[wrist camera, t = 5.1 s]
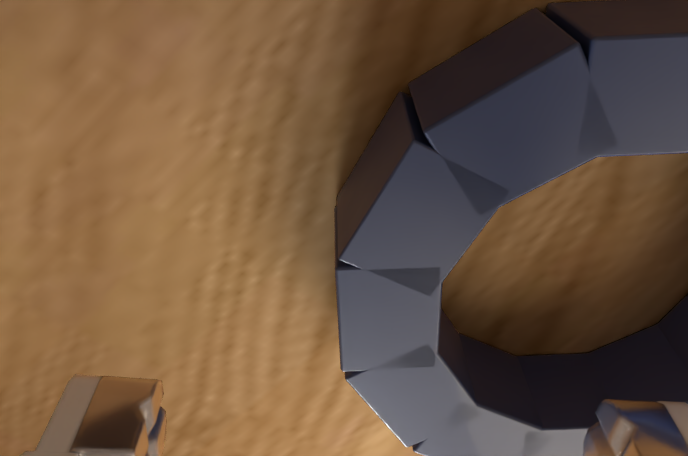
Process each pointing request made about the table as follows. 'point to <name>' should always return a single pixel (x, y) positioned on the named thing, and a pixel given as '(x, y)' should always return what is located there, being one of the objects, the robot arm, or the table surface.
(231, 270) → the table surface
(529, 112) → the ring
